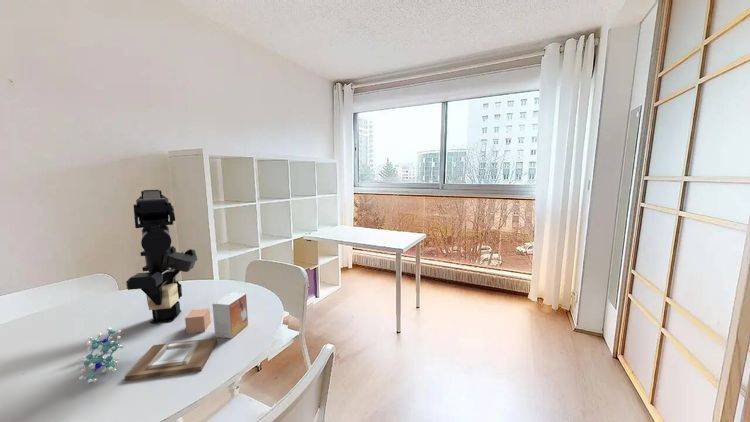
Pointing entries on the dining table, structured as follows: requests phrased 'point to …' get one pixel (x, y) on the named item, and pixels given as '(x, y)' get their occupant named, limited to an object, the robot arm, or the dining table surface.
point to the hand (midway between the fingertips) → (164, 300)
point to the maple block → (166, 297)
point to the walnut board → (173, 359)
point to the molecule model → (99, 356)
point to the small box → (230, 315)
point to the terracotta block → (198, 320)
